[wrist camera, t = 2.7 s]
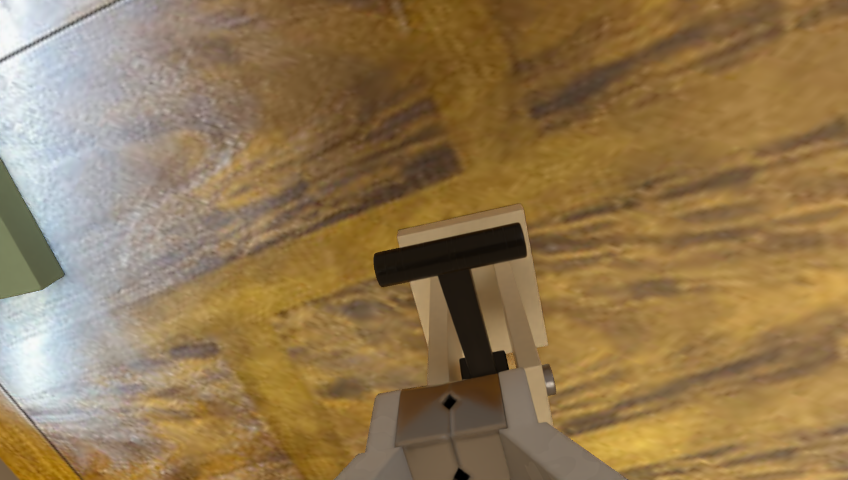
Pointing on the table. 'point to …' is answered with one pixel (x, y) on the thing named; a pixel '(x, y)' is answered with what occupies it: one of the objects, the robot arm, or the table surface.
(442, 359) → the lever bracket
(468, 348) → the press lever
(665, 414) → the table surface
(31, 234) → the button housing
